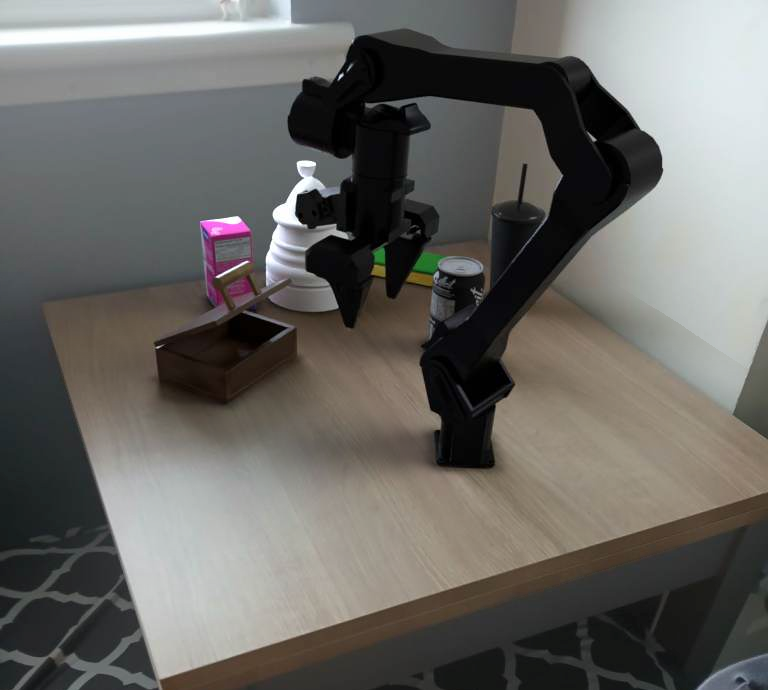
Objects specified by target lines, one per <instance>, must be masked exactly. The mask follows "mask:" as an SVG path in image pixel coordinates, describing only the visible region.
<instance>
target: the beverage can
mask: <svg viewBox="0 0 768 690" xmlns="http://www.w3.org/2000/svg"><path fill="white" fill-rule="evenodd" d="M485 284H486V276H485V274H484V265H483V264H482V263H481V262H480V261H479V260H477V259H475V258H472V257H467V256H461V255H460V256H459V255H453V256H446V258H443V259H441V260H440V261H439V262H438V268H437V269H436V271H435V272H434V276H433V287H432V286H431V287H432V289H431V298H430V299H431V300H430V311H429V321H428V330H427V341H429V340H430V338H431V337H432V335H433V333H434V331H435V329H436V327H437V326H438V324H439V323H440V322H441V321H442V320H444V319H446V318H448V317H450V316H452V315H453V314H455V313H457V312H459V311H461V310H463V309H465V308H466V307H468V306H470V305H472V304H473V305H474V307H475V308H476V307H477V306H478V304H479V303H480V302H481V301H482V299H483V298H484V293H485V286H486V285H485Z"/></svg>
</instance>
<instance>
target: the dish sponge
mask: <svg viewBox="0 0 768 690" xmlns="http://www.w3.org/2000/svg"><path fill="white" fill-rule="evenodd" d="M373 254H374V256H375V263H374V268H373V270H372V273H371V275H373V276H377V277H380V278H385V250H384V247H382V248H381V249H379V250H377V251H376V252H374V253H373ZM446 257H447V256H446V255H440V254H435V253H430V252H425V251H424V252H423V253H422V255H421V256H420V258H419V260H418V261H417V263H416V265H415V266H414V268H413V270H412V271H411V273H410V275H409V276H408V278H407V280H406V282H407V283H412V284H418V285H422V286H428V287H433V276H434V272H435V271H436V269H437V268H438V262H439V261H440V260H441V259H443V258H446Z"/></svg>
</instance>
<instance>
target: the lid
mask: <svg viewBox="0 0 768 690" xmlns="http://www.w3.org/2000/svg"><path fill="white" fill-rule="evenodd" d="M253 272H254V273H255V266H254V263H253V264H252V263H251V262H249V261H245V262H243V263H241V264H239V265H237V266H235V267H233V268H231V269H230V270H228V271H226V272H224V273H222V274H220V275H218V276H216V277H214V278H213V279H212V285H213V287H214V288H215V289H216V290H218V291H220V293H221V295H222V297H223V299H224V301H225V303H223V304H221V305H219V306H217V307H216V308H215V307H214V308H212V309H210V310H208V311H207V312H204V313H203V314H201V315H199V316H198V317H196V318H194V319H192V320H190V321H188V322H187V323H185V324H183V325H182V326H179V327H177V328H176V329H174V330H172V331H171V332H169V333H167V334H165V335H163V336H162V337H160V338H158V339H156V340H155V341H153V345H154V346H155V348H156V347H159V346H162V345H165V344H167V343H170V342H173V341H176V340H179V339H182V338H185V337H188V336H191V335H194V334H196V333H199V332H202V331H205V330H208V329H211V328H214V327H217V326H219V325H221V324H222V323H224V322H226V321H228V320H229V319H231V318H233V317H235V316H236V315H238V314H240V313H241V312H243V311H245V310H246V311H248V310H247V309H248V308H250V307H252V306H253V305H255V304H256V305H257V304H258V303H260V302H263V301H264V300H265V299H267V298H268V297H269V296H271V295H272V294H274V293H276V292H278V291H279V290H281V289H283V288H284V287H286V286H288V285H290V284H291V283H292V280H291V278H287V279H285V280H282V281H279V282H277V283H274V284H271V285H268V286H266V285H265V286H263V287H260V286H259V283H258V281H257V279H256V277H255V274H254V275H253ZM245 277H246V278H247V280H248V283H249V285H250V287H251V289H252V292H249V293H247V294H244V295H241V296H239V297H236V298H233V299H232V298H231V295H230V293H229V291H228V289H227V287H228V286H230V285H232V284H234V283H236V282H237V281H239V280H241V279H243V278H245Z"/></svg>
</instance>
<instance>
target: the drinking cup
mask: <svg viewBox="0 0 768 690" xmlns="http://www.w3.org/2000/svg"><path fill="white" fill-rule="evenodd" d="M527 171H528V163H522V167H521V173H520V180H519V187H518V195H517V199H512V200H505V201H504V202H499V203H496V204H494V205H492V206H491V208H490V215H491V216H492V217H491V239H490V240H491V242H490V269H489V270H490V271H489V290H490V289H491V288H492V286H493V285H494V284H495V283H496V281H497V280H498V279H499V278H500V276H501V275H502V274H503V272H504V271H505V270H506V269H507V267H508V266H509V265H510V263H511V262H512V261H513V260H514V258H515V257H516V256H517V254H518V253H519V252H520V251H521V249H522V248H523V247H524V246H525V244H526V243H527V242H528V240H529V239H530V238H531V237H532V235H533V234H534V233H535V231H536V230H537V229H538V228H539V226H540V225H541V224H542V223H543V221H544V220H545V219H546V217H547V214H546V211H545V210H544V209H543V208H541V207H539V206H537V205H535V204H534V203H532V202H530V201H526V200H523V199H524V193H525V187H526V186H525V185H526V178H527Z"/></svg>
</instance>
